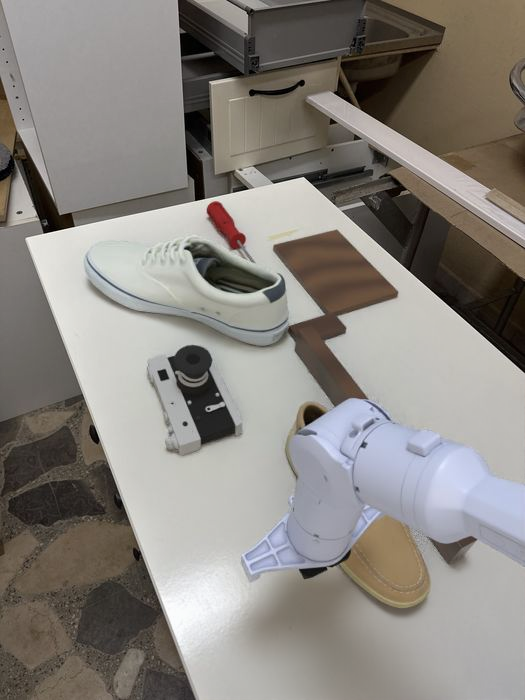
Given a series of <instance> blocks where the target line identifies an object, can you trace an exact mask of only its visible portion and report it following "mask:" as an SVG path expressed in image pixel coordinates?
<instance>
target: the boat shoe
mask: <svg viewBox="0 0 525 700" xmlns="http://www.w3.org/2000/svg"><path fill="white" fill-rule="evenodd" d="M329 411H330V410H329V409H327V408H326V407H325V406H324V405H322V404H320V403H319V402H316V401H306V402H304V403H303V404H301V405H300V406H299V409H298V411H297V415H296V418H295V420H294V422H293V424H292V427H291V429H290V430H289V433H288V435H287V438H286V441H285V454H286V458H287V460H288V462H289V465H290V467H291V469H292V471H293V473H294V475H295V476H296V478H297V479H298V473H297V472H296V470H295V468H294V465H293V463H292V460H291V457H290V453H289V441H290V439H291V438H292V437H293V436H294V435H297V433H298V432H299V431H300V430H301V429H303V428H304V427H306V426H307V425H309V424H310V423H312V422H314V421H315V420H317V419H318V418H320V417H321V416H323V415H324V414H326V413H327V412H329ZM338 565H339V567H340V568H341V569H342V570H343V571H344V572H345V573H346V574H347V575H348V576H349V578H351V579H352V580H353V581H354V582H355V583H356V584H357V585H359V586H360V588H362V589H363V590H364V591H366V592H367V593H368V594H370V595H371V596H372V597H373V598H374V599H377V600H378V601H380V602H382V603H384V604H386V605H387V606H390V607H393V608H398V609H408V608H411V607H414V606H417V605H418V604H420V603H422V602H423V601H424V600H425V599H427V597H428V595H429V594H430V591H431V586H432V581H431V580H432V579H431V576H430V571H429V570H428V567H427V564H426V561H425V559H424V557H423V555H422V553H421V551H420V549H419V547H418V545H417V543H416V541H415V539H414V536H413V534H412V532H411V530H410V527H408V526H407V525H405V524H403V523H401V522H399V521H397V520H395V519H393V518H391V517H389V516H387V515H385V516H384V517H383V518H381V519H379V520H374V521H373V523H372V524H371V525H370V526H369V527H368V528H367V530H366V531H365V532H364V533H363V534H362V536H361V537H360V538H359V539H358V540H357V541H356V543H355V544H354V545H353V546H352V547H351V554H350V556H349V558H348V559H347V560H346V561H344V562H342V563H340V564H338Z"/></svg>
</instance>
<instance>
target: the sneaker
mask: <svg viewBox="0 0 525 700" xmlns="http://www.w3.org/2000/svg"><path fill="white" fill-rule="evenodd" d="M255 263H256V262H255ZM255 263H253V262H251V261H250V260H249V259H245V258H243V257H241V256H240V255H237V254H235V253H234V252H233V251H231V250H229V249H228V248H227V247H225V246H223V245H222V244H221V243H219V242H217V241H214V240H212V239H207V238H203V237H202V236H201V235H198V234H191V235H187V236H186V237H185V236H183V237H182V236H179V237H175V238H173V239H169V240H167V241H162V242H161V241H160V242H158V243H156V244H155V245H147V244H143V243H139V242H133V241H126V240H125V241H124V240H105V241H100V242H98V243H95V244H94V245H92V246H91V247H90V248H89V249H88V250H87V252H86V253H85V255H84V257H83V266H84V272H85V275H86V276H87V278H88V280H89V281H90V283H92V284H93V286H94V287H95V288H97V290H99V291H100V292H101V293H103V294H104V295H105V296H106V297H108V298H110V299H111V300H112V301H115V302H116V303H118V304H120V305H121V306H124V307H125V308H129V309H131V310H134V311H137V312H145V313H153V314H162V315H169V316H170V315H171V316H178V317H182V318H183V317H184V318H188V319H192V320H194V321H198V322H200V323H202V324H204V325H205V326H208V327H210V328H212V329H214V330H216V331H218V332H220V333H222V334H223V335H226V336H228V337H230V338H232V339H234V340H236V341H239V342H242V343H245V344H248V345H249V344H250V345H252V346H258V347H265V346H270V345H273V344H275V343H277V342H278V341H280V339H281V338H282V337H283V336H284V333H285V332H286V330H287V329H288V327H289V323H290V319H291V318H290V317H291V315H290V310H289V306H288V297H287V287H286V280H285V277H284V276H283V275H282V274H281V273H279V272H277V271H275V270H273V269H271V268H268V267H266V266H263V265H261V264H258V263H256V264H255Z"/></svg>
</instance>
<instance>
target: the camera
mask: <svg viewBox="0 0 525 700" xmlns="http://www.w3.org/2000/svg"><path fill="white" fill-rule="evenodd" d="M146 371H147V376H148V379H149V381H150V383H151V384H153V386H154V389H155V392H156V395H157V397H158V400H159V402H160V405H161V408H162V411H163V413H162V415H163V418H164V421H165V422H167V425H168V427H167V431H168V433H169V434H171V435H168V437H167V438H166V439H165V441H164V442H165V447H166V449H170V450H174V449H175V450H178V453H179V455H180V456H184V455H187V454H190V453H193V452H196V451H199V450H201V449H202V445H204V444H207V443H210V442H213V441H214V442H215V441H216V440H219V439H223V438H225V437H229V436H232V435H234V436H235V437H238V436H240V435H241V434H242V430H243V429H242V428H243V419H242V417H241V415H240V413H239V411H238V409H237V406H236V404H235V403H234V400H233V398H232V396H231V394H230V392H229V390H228V388H227V386H226V384H225V382H224V379H223V378H222V376H221V373H220V371H219V369H218V367H217V365H216V363H215V361H214V359H213V357H212V354H211V352H210V351H209V349H208V347H207V346H204V345H195V344H190V345H185V346H183V347H181V348H179V349H178V350H177V351H176V353H175V355H171V356H167V354H163V355H158V356H154V357H150V358H148V359H147V366H146Z"/></svg>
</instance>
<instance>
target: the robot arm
mask: <svg viewBox="0 0 525 700" xmlns="http://www.w3.org/2000/svg"><path fill="white" fill-rule="evenodd" d="M328 411H329V412H327V413H326V414H324V415H323V416H321V417H320V418H318V419H317V420H315V421H314V422H312V423H310V424H309V425H307V426H306V427H304V428H303V429H301V430H300V431H299V432H298V433H297V435H294V436H293V437H292V438H291V439H290V441H289V453H290V457H291V460H292V463H293V465H294V468H295V470H296V472H297V473H298V478H297V480H296V485H295V488H294V492H293V494H291V495H290V496H289V498H288V506H289V507H290V510H289V511H288V512H287V513H286V514H285V515H284V516H283V517H282V518H281V519H280V520H279V521H278V522H277V523H276V524H275V525H274V526H273V527H272V528H271V529H270V530H269V531H268V532H267V533H266V534H265V535H264V537H262V538H261V539H260V540H259V541H258V542H257V543H256V544H254V545H253V546H252V547H251V548H249V549H248V550H246V551H244V552H242V553H241V556H240V566H241V567H242V569H243V572H244V574H245V576H246V578H247V580H248V582H249V583H253V582H256V581H257V580H259V579H260V578H261V575H262V574H265V573H271V572H282V571H291V570H292V571H293V570H298V571H299V573H300V575H301V577H302V579H303V580H304V581H305V580H309V579H312V578H314V577H317V576H319V575H321V574H323V573H325V572H327V571H328V568H334V567H336V566H338V565H339V564H340V563H342V562H344V561H346V560H347V559H348V558H349V556H350V554H351V547H352V546H353V545H354V544H355V543H356V541H357V540H358V539H359V538H360V537H361V536H362V534H363V533H364V532H365V531H366V530H367V528H368V527H369V526H370V525H371V524H372V523H373V521H374V520H379V519H381V518H383V517H384V516H385V515H387V516H389V517H391V518H393V519H395V520H397V521H399V522H401V523H403V524H405V525H407V526H408V528H409V529H412V530H414V531H416V532H417V533H420V534H422V535H423V536H426V537H428V538H429V537H430V538H431V539H433V540H435V541H437V542H440V543H446V544H448V543H453V542H456V541H459V540H461V539H463V538H466V537H469V536H473V537H474V538H476V539H477V541H480V542H481V543H483V544H485V545H487V546H488V547H490V548H491V549H493V550H495V551H496V552H498V553H499V554H502V555H503V556H505V557H507V558H508V559H510V560H511V561H513V562H516V563H517V564H518V565H521V566H522V567H524V568H525V484H523V483H519V482H515V481H512V480H509V479H505V478H501V477H497V476H495V475H494V473H493V472H492V470H491V468H490V466H489V464H488V462H487V461H486V459H485V457H484V456H483V455H482V453H480V452H479V450H478V449H476V448H474V447H471V446H469V445H466V444H463V443H460V442H457V441H454V440H450V439H448V438H444V437H442V436H441V434H440V433H438V432H435V431H431V430H428V429H426V428H425V429H424V428H423V429H421V430H420V429H417V428H413V427H410V426H408V425H405V424H401V423H398V422H395V421H394V419H393V418H392V416H391V415H390V414H389V413H388V412H387V410H386V409H384V408H383V407H382V406H381V405H379V404H378V403H376V402H374V401H372V400H370V399H369V400H367V399H357V398H350V399H348V400H345V401H344V402H342V403H341V404H339V405H338V406H336V407H335V406H334V407H333V408H332V409H330V410H328ZM430 538H429V539H430ZM431 539H430V540H431Z"/></svg>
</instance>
